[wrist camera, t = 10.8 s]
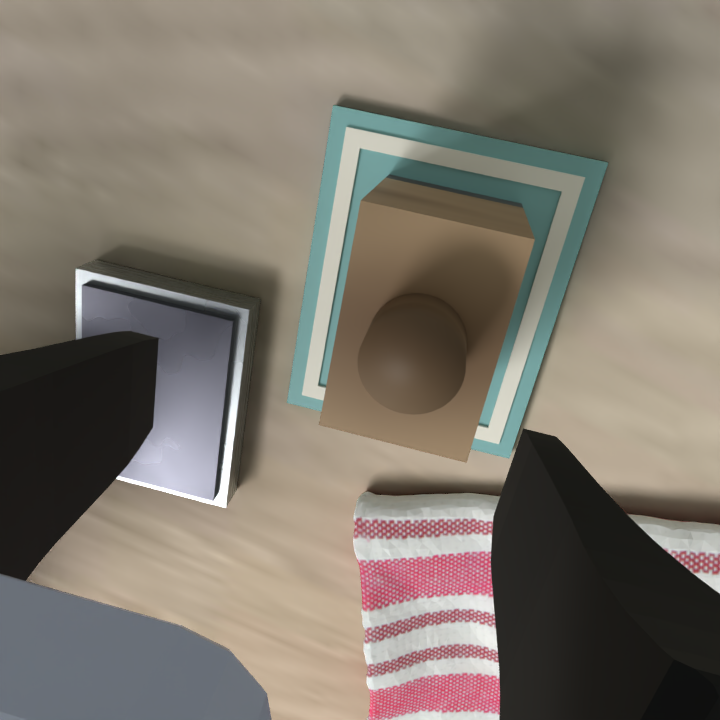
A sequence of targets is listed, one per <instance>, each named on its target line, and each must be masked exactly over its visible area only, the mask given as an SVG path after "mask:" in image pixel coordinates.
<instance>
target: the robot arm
mask: <svg viewBox="0 0 720 720" xmlns="http://www.w3.org/2000/svg"><path fill="white" fill-rule="evenodd" d="M158 341H159V338H157V337H153V336H149V335H145V334H141V333H137V332H133V331H119V332H112V333H106V334H101V335H96V336H91V337H86V338H81V339H77V340H72V341H68V342H63V343H59V344H54V345H50V346H45V347H41V348H36V349H31V350H26V351H20V352H15V353H10V354H5V355H0V720H271V715H270V709H269V703H268V697H267V693H266V692H265V691H264V689H263V688H262V687H261V685H260V684H259V683H258V682H257V681H256V680H255V678H254V677H253V676H252V675H251V674H250V673H249V672H248V670H247V669H246V668H245V667H244V666H243V665H242V663H241V662H240V661H239V660H238V659H237V658H236V657H235V655H234V654H233V653H232V652H231V651H230V650H229V649H228V648H226V647H224V646H222V645H220V644H218V643H216V642H214V641H212V640H210V639H208V638H206V637H204V636H202V635H200V634H198V633H196V632H194V631H192V630H190V629H188V628H186V627H184V626H182V625H178V624H175V623H171V622H168V621H164V620H161V619H157V618H154V617H150V616H147V615H143V614H140V613H136V612H133V611H129V610H126V609H122V608H119V607H115V606H111V605H108V604H104V603H101V602H97V601H94V600H90V599H87V598H83V597H80V596H76V595H73V594H69V593H66V592H62V591H59V590H55V589H52V588H48V587H45V586H41V585H38V584H34V583H31V582H27V581H26V579H27V578H28V577H29V575H30V574H31V573H32V571H33V570H34V569H35V567H36V566H37V565H38V563H39V562H40V561H41V560H42V559H43V557H44V556H45V555H46V554H47V553H48V552H49V550H50V549H51V548H52V547H53V546H54V545H55V543H56V542H57V541H58V540H59V539H60V538H61V537H62V536H63V535H64V534H65V533H66V532H67V531H68V530H69V528H70V527H71V526H72V525H73V524H74V523H75V522H76V521H77V520H78V519H79V518H80V517H81V516H82V515H83V513H84V512H85V511H86V510H87V509H88V508H89V507H90V506H91V505H92V504H93V503H94V502H95V501H96V500H97V498H98V497H99V496H100V495H101V494H102V493H103V492H104V491H105V490H106V489H107V488H108V487H109V485H110V484H111V483H112V482H113V481H114V480H115V479H116V478H117V477H118V476H119V475H120V473H121V472H122V471H123V470H124V469H125V468H126V467H127V465H128V464H129V463H130V461H131V460H132V459H133V457H134V456H135V454H136V453H137V451H138V450H139V449H140V447H141V446H142V444H143V442H144V441H145V439H146V438H147V436H148V435H149V433H150V432H151V430H152V429H153V422H154V406H155V389H156V373H157V357H158ZM491 575H492V588H493V601H494V613H495V625H496V636H497V648H498V660H499V678H500V716H499V720H720V593H718V592H717V591H715V590H714V589H713V588H711V587H710V586H709V585H707V584H706V583H705V582H703V581H702V580H701V579H700V578H698V577H697V576H696V575H694V574H693V573H692V572H691V571H689V570H688V569H687V568H686V567H685V566H683V565H682V564H681V563H680V562H679V561H677V560H676V559H675V558H674V557H673V556H671V555H670V554H669V553H668V552H667V551H665V550H664V549H663V548H662V547H661V546H660V545H659V544H657V543H656V542H655V541H654V540H653V539H652V538H651V537H650V536H649V535H648V534H647V533H646V532H645V531H644V530H643V529H641V528H640V527H639V526H638V525H637V524H636V523H635V522H634V521H633V520H632V519H631V518H630V517H629V516H628V515H627V514H626V513H625V512H624V511H623V510H622V509H621V508H620V507H619V505H618V504H617V503H616V502H615V501H614V500H613V499H612V498H611V497H610V496H609V495H608V494H607V493H606V492H605V490H604V489H603V488H602V487H601V486H600V485H599V484H598V483H597V482H596V480H595V479H594V478H593V477H592V476H591V475H590V474H589V472H588V471H587V470H586V469H585V468H584V467H583V465H582V464H581V463H580V462H579V461H578V460H577V459H576V457H575V456H574V455H573V454H572V453H571V452H570V451H569V449H568V448H567V447H566V446H565V445H564V444H563V443H562V442H561V441H560V440H559V439H558V438H557V437H555V436H551V435H547V434H543V433H539V432H535V431H531V430H527V429H523V431H522V434H521V437H520V440H519V443H518V446H517V449H516V452H515V455H514V458H513V460H512V463H511V466H510V469H509V472H508V475H507V478H506V481H505V484H504V487H503V490H502V493H501V496H500V498H499V501H498V504H497V507H496V510H495V513H494V516H493V529H492V544H491Z"/></svg>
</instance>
